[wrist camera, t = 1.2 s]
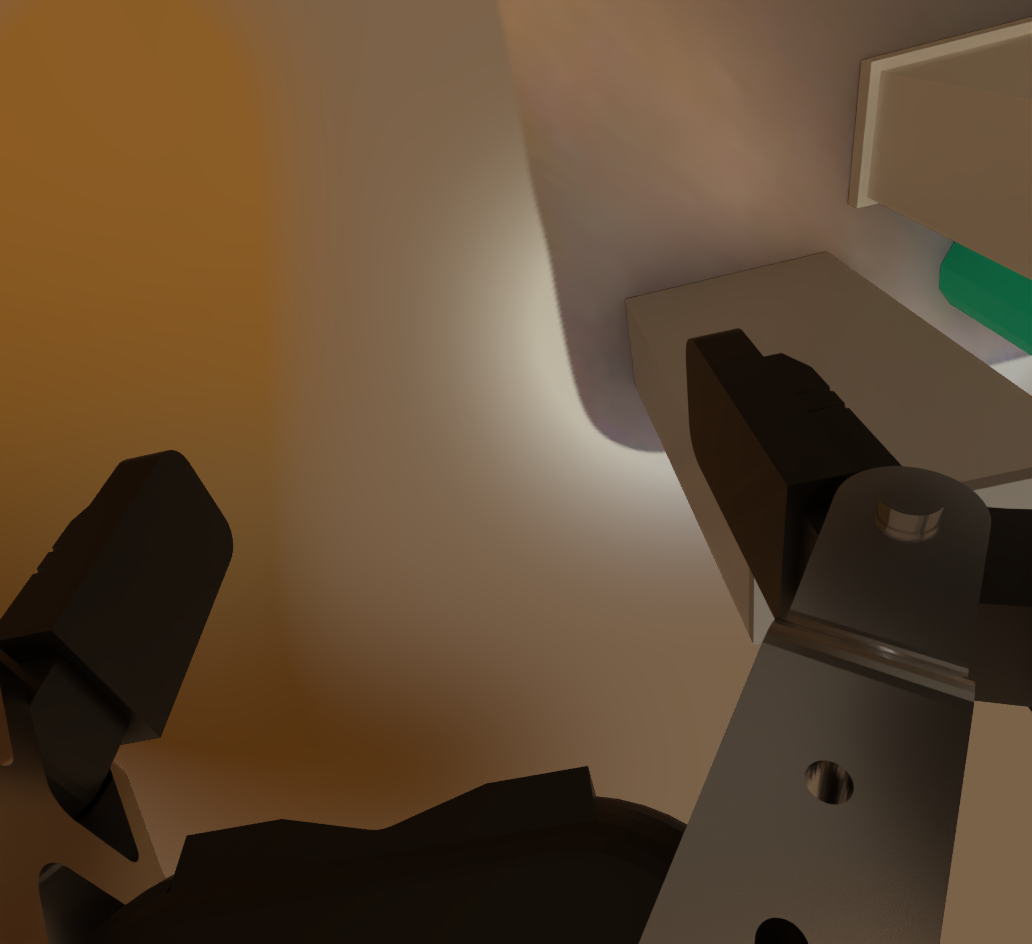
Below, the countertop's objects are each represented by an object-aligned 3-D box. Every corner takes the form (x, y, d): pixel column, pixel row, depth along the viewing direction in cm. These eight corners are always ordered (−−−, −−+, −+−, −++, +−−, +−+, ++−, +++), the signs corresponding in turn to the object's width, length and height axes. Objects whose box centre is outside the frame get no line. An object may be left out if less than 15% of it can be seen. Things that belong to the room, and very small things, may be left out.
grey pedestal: (624, 299, 39) (754, 535, 22) (826, 251, 38) (1121, 459, 21) (635, 384, 42) (753, 644, 26) (819, 342, 42) (1067, 583, 25)
